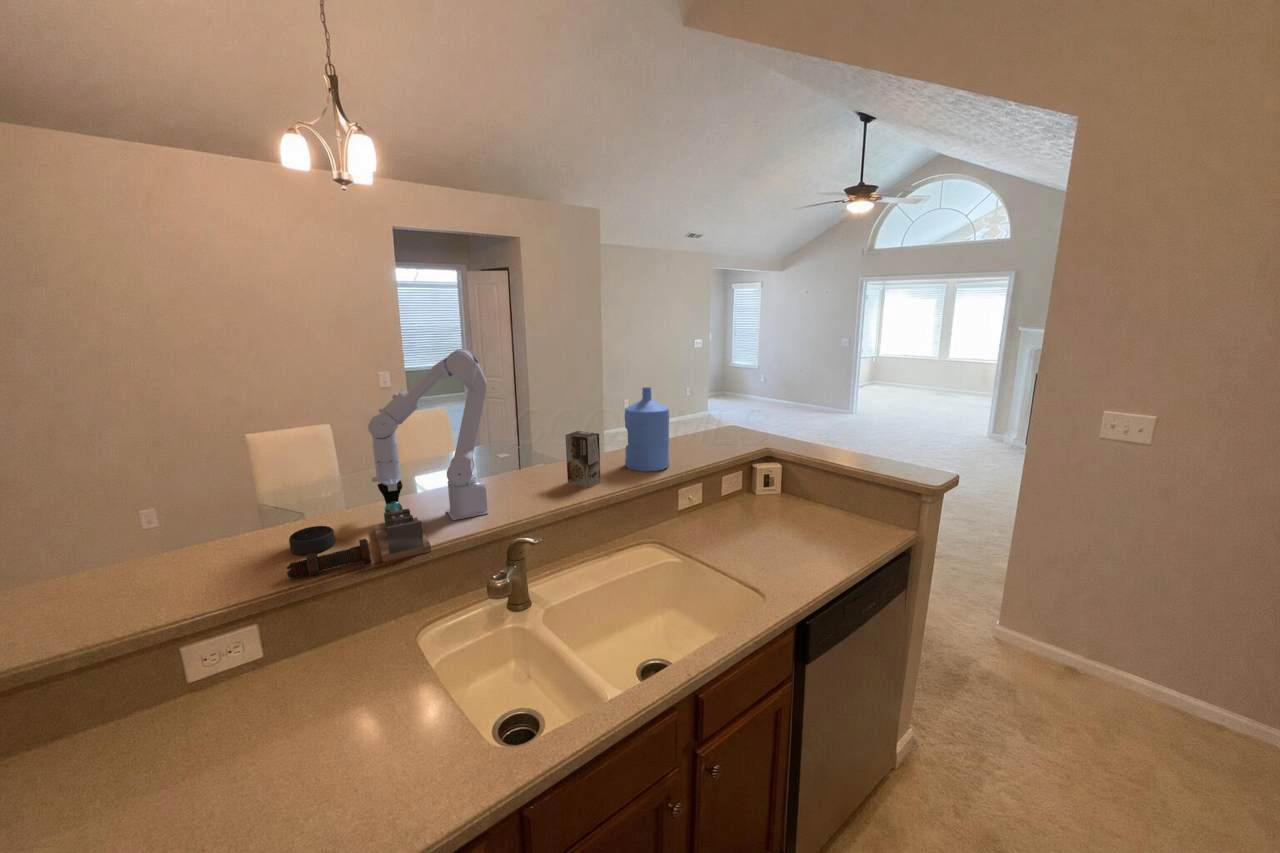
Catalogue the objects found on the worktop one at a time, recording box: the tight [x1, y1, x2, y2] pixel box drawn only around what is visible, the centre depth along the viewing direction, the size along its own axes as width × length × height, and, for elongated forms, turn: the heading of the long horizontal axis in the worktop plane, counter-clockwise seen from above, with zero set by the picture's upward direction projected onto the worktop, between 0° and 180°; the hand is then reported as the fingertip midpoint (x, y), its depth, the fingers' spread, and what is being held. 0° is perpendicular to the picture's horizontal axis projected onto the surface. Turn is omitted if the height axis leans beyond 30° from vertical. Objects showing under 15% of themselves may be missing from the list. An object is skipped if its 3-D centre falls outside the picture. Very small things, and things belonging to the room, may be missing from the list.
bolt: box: [286, 538, 372, 579], centre depth 110 cm, size 6×5×15 cm
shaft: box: [384, 500, 404, 525], centre depth 128 cm, size 15×4×4 cm, turn 31°
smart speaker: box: [288, 525, 336, 556], centre depth 121 cm, size 9×9×4 cm
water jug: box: [624, 386, 670, 473], centre depth 182 cm, size 16×16×28 cm
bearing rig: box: [373, 508, 432, 563], centre depth 124 cm, size 20×10×8 cm, turn 31°
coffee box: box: [564, 430, 601, 488], centre depth 165 cm, size 9×6×16 cm
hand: (392, 509), depth 137 cm, fingers closed
